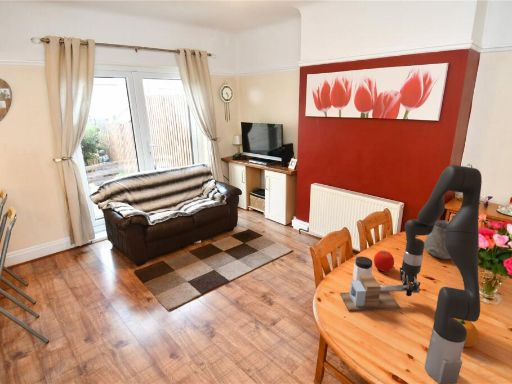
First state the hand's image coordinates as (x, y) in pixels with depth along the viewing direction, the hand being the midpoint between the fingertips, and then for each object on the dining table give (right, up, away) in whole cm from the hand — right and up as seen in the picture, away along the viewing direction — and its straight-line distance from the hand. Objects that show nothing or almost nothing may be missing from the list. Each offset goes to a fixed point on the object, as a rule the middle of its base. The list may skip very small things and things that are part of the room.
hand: (406, 293), depth 139 cm
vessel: (+42, +9, +42) cm, 60 cm away
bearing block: (-18, -4, 0) cm, 19 cm away
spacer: (-23, -3, 0) cm, 24 cm away
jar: (-15, +1, +17) cm, 23 cm away
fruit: (+10, -11, -21) cm, 26 cm away
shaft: (-8, 0, -1) cm, 8 cm away
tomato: (0, +4, +27) cm, 27 cm away
